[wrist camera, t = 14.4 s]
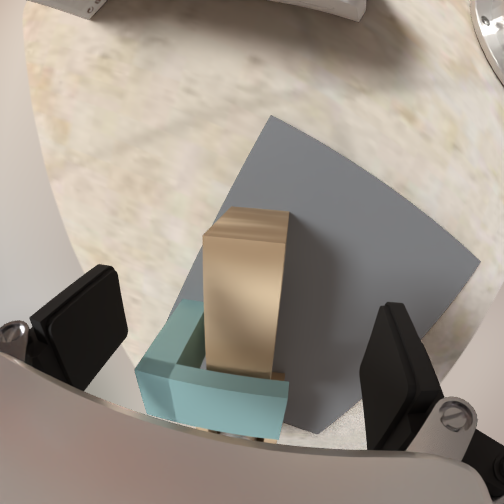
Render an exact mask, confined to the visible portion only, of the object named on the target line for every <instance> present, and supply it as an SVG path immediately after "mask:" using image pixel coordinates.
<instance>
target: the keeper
mask: <svg viewBox="0 0 504 504" xmlns="http://www.w3.org/2000/svg"><path fill="white" fill-rule="evenodd" d="M205 355H206V351H205V328H204V302H201V301H194V300H187V299H182V301H181V302H180V303H179V305H178V306H177V308H176V309H175V311H174V312H173V314H172V315H171V316H170V318H169V319H168V321H167V322H166V324H165V325H164V327H163V328H162V330H161V331H160V332H159V334H158V335H157V337H156V338H155V340H154V341H153V343H152V344H151V346H150V347H149V349H148V350H147V352H146V353H145V355H144V356H143V358H142V359H141V361H140V362H139V364H138V365H137V367H136V368H135V374H136V378H137V382H138V385H139V388H140V392H141V396H142V399H143V402H144V406H145V409H146V412H147V414H149V415H152V416H156V417H160V418H163V419H167V420H170V421H174V422H179V423H183V424H187V425H191V426H195V427H200V428H205V429H210V430H215V431H220V432H225V433H231V434H237V435H244V436H251V437H258V438H266V439H275V440H279V436H280V432H281V427H282V423H283V418H284V414H285V409H286V405H287V400H288V390H289V382H288V381H278V380H270V379H261V378H254V377H246V376H240V375H233V374H227V373H221V372H215V371H209V370H204V369H200V367H201V365H202V362H203V360H204V358H205Z"/></svg>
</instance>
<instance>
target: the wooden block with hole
mask: <svg viewBox="0 0 504 504" xmlns="http://www.w3.org/2000/svg"><path fill="white" fill-rule="evenodd" d="M288 221H289V211H280V210H269V209H257V208H245V207H233V206H231V207H230V208H229V209H228V210H227V211H226V212H225V213H224V214H223V215H222V216H221V217H220V218H219V219H218V220H217V221H216V222H215V223H214V224H213V225H212V227H211V228H210V229H209V230H208V231H207V232H206V233H205V234H204V235H203V297H204V328H205V351H206V370H209V371H215V372H221V373H227V374H233V375H240V376H246V377H254V378H261V379H270V380H278V381H284V380H285V373H276V372H272V365H273V358H274V350H275V342H276V334H277V326H278V317H279V309H280V300H281V291H282V282H283V272H284V262H285V253H286V242H287V232H288ZM196 429H198V430H202V431H207V432H211V433H216V434H220V431H215V430H210V429H205V428H200V427H196ZM256 441H259V442H266V443H273V444H276V443H277V440H275V439H266V438H258V437H257V438H256Z"/></svg>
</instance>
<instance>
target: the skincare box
mask: <svg viewBox="0 0 504 504" xmlns="http://www.w3.org/2000/svg"><path fill="white" fill-rule="evenodd" d="M28 1H31V2H35V3H38V4H42V5H45V6H49V7H52V8H55V9H58V10H61V11H64V12H67V13H70V14H72V15H75V16H78V17H81V18H84V19H87V20H89V19H90V18H91V17H92V16H93V15H94V14H95V13H96V12H97V11H98V10H99V9H100V8H101V7H102V5H103V4H104V3H105V2H106V1H107V0H28Z"/></svg>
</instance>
